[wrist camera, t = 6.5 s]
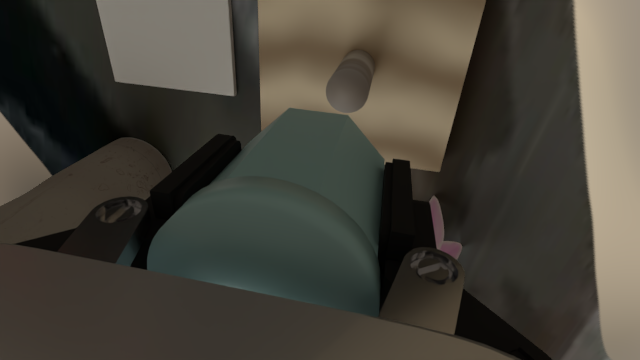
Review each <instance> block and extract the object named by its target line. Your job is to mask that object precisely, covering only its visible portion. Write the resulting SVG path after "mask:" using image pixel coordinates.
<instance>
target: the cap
mask: <svg viewBox="0 0 640 360" xmlns="http://www.w3.org/2000/svg"><path fill="white" fill-rule="evenodd" d="M384 162H385V159H384V158H383V157H382V156H381V155H380V153H379V152H378V151H377V150H376V149H375V147H374V146H373V145H372V144H371V142H370V141H369V140H368V139H367V138H366V136H365V135H364V134H363V133H362V131H361V130H360V129H359V128H358V127H357V125H356V124H355V123H354V122H353V120H352V119H351V118H350V117H349V116H348V115H343V114H335V113H327V112H319V111H311V110H303V109H296V108H288V109H287V110H286V111H285V112H284V113H283V114H281V115H280V116H279V117H278V118H277V119H276V120H274V121H273V122H272V123H271V124H270V125H269V126H267V127H266V128H265V129H264V130H263V131H262V132H260V133H259V134H258V135H257V136H256V137H255V138H253V139H252V140H251V141H250V142H249V143H248V144H247V145H246V146H245V147H244V148H243V149H242V150H241V152H240V153H239V154H238V155H237V156H236V157H235V158H234V159H233V160H232V161H231V162H230V163H229V164H228V165H227V166H226V167H225V168H224V170H223V171H222V172H221V173H220V174H219V175H218V176H217V177H216V178H215V179H214V180H213V181H212V182H211V183H210V184H209V185H208V186H206V187H204V188H202V189H200V190H199V191H198V192H196V193H195V194H193V195H192V196H191V197H190V198H189V199H188V200H187V201H186V202H185V203H184V204H183V205H182V206H181V207H180V208H179V209H178V210H177V211H176V213H175V214H174V215H173V216H172V217H171V218H170V219H169V220H168V221H167V222H166V223H165V224H164V225H163V226H162V227H161V228H160V229H159V230H158V232H157V233H156V235H155V236H154V238H153V240H152V242H151V245H150V247H149V251H148V257H147V270H149V271H154V272H159V273H164V274H169V275H174V276H179V277H184V278H189V279H194V280H199V281H204V282H209V283H214V284H219V285H224V286H229V287H234V288H239V289H243V290H248V291H253V292H258V293H263V294H268V295H273V296H278V297H283V298H288V299H293V300H298V301H302V302H307V303H312V304H317V305H322V306H327V307H331V308H336V309H341V310H346V311H351V312H355V313H360V314H365V315H370V316H375V317H378V316H379V307H380V289H381V273H380V266H379V262H378V244H379V231H380V217H381V203H382V189H383V175H384Z"/></svg>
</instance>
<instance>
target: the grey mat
mask: <svg viewBox="0 0 640 360" xmlns="http://www.w3.org/2000/svg"><path fill="white" fill-rule="evenodd" d="M96 2H97V7H98V11H99V15H100V19H101V23H102V28H103V32H104V36H105V40H106V44H107V49H108V53H109V57H110V61H111V65H112V70H113V74H114V78H115V82H123V83H131V84H139V85H147V86H155V87H163V88H171V89H179V90H188V91H196V92H204V93H212V94H220V95H228V96H235V95H237V89H236V73H235V56H234V40H233V24H232V8H231V0H96Z"/></svg>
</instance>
